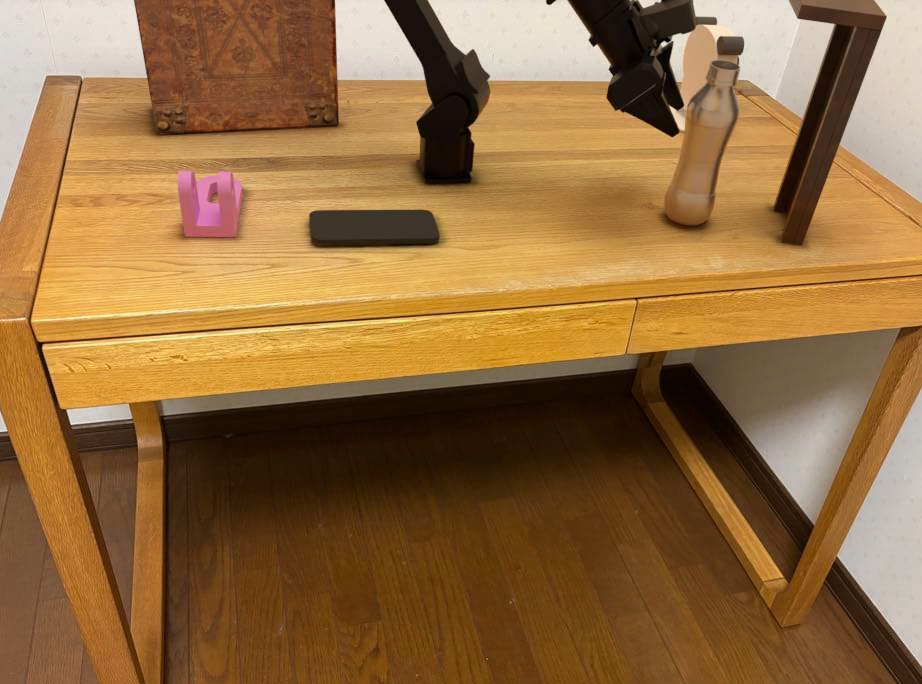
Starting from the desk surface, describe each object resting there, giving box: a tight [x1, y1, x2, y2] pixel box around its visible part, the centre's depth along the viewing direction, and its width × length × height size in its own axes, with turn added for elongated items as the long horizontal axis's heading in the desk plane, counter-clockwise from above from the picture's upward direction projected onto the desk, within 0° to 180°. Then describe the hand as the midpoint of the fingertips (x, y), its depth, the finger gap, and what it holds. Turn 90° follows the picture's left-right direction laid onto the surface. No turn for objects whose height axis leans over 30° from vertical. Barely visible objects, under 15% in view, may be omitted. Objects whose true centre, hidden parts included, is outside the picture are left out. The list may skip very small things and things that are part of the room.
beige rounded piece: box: [669, 16, 745, 133], centre depth 134 cm, size 12×11×15 cm
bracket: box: [177, 170, 244, 238], centre depth 99 cm, size 13×6×7 cm, turn 8°
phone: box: [308, 209, 440, 246], centre depth 101 cm, size 7×1×15 cm
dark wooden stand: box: [772, 0, 888, 246], centre depth 104 cm, size 9×10×28 cm
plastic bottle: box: [663, 60, 741, 226], centre depth 105 cm, size 6×7×20 cm
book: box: [133, 0, 340, 135], centre depth 114 cm, size 25×9×30 cm, turn 110°
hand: (678, 121), depth 104 cm, fingers open, 9 cm apart
